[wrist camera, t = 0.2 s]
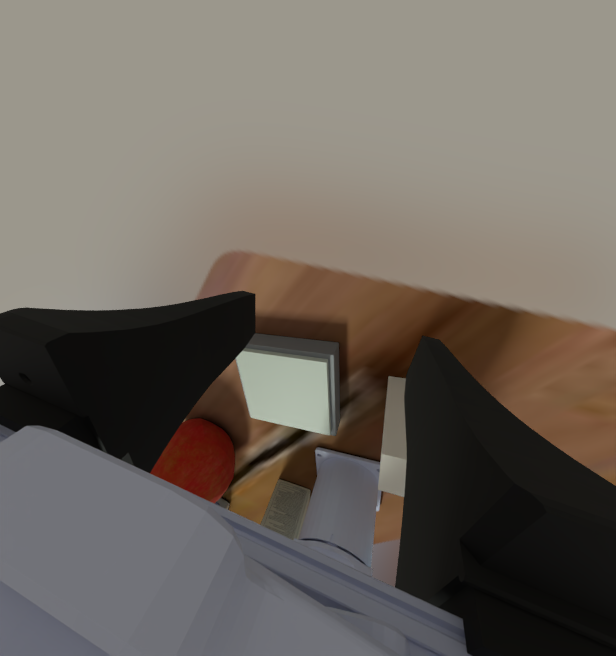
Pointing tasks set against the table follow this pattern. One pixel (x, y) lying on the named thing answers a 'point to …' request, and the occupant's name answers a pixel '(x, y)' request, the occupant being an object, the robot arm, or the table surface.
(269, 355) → the tray
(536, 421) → the table surface
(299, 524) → the box
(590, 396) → the table surface
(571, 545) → the robot arm
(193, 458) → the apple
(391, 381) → the carton
